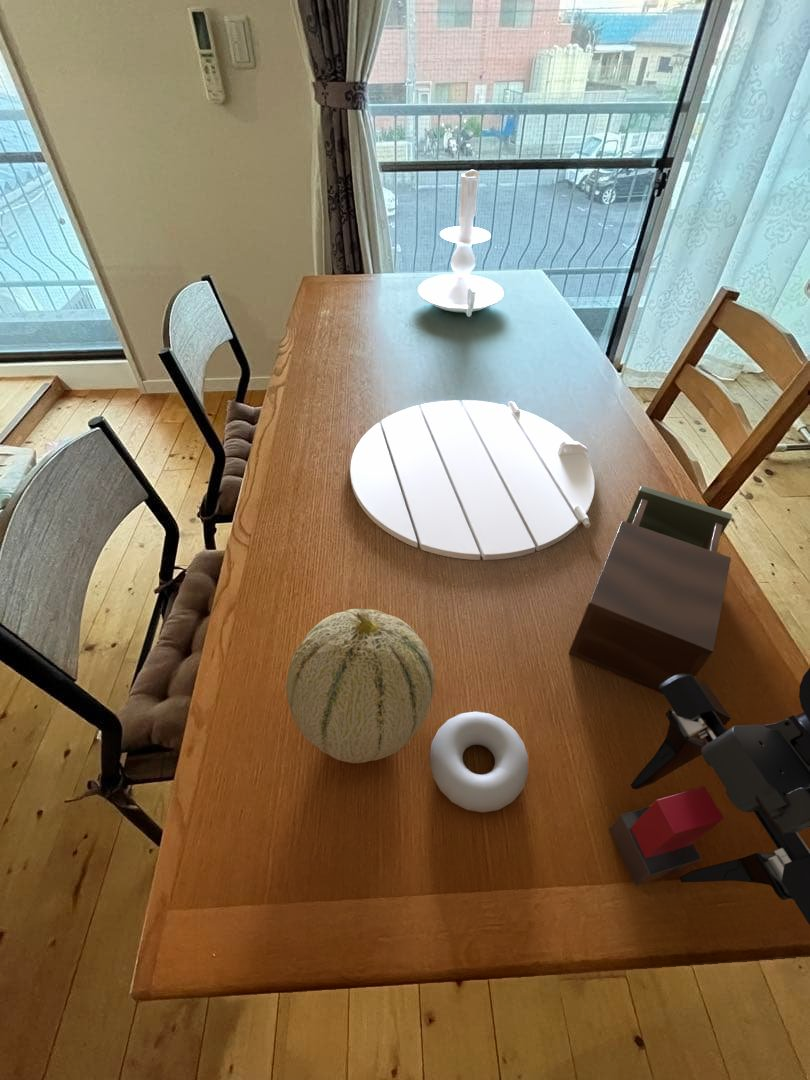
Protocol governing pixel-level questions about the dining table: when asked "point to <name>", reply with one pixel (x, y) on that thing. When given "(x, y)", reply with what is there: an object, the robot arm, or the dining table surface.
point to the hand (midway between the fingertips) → (656, 831)
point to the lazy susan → (472, 479)
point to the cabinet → (653, 608)
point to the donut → (467, 785)
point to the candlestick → (463, 261)
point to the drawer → (678, 518)
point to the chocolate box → (676, 822)
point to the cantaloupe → (360, 685)
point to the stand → (653, 866)
